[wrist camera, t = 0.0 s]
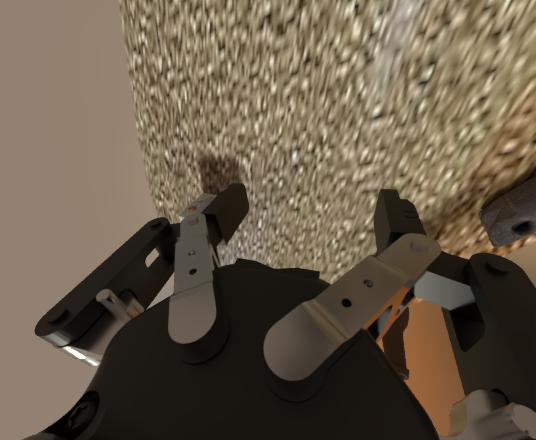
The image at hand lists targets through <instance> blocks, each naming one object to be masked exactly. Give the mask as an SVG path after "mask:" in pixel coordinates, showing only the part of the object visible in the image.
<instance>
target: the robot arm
mask: <svg viewBox="0 0 536 440" xmlns="http://www.w3.org/2000/svg"><path fill="white" fill-rule="evenodd" d="M248 210H249V202H248V198H247V193H246V188H245V185H244V184H241V183H232V184H231V185H230V186H229V187H228V188H227V189H226V190H224V191H223V192H221V193H219V194H218V195H217V196H216V197H215V198H214V199H213V200H212V201H211V203H209V205H208V206H207V207H206V208H205V209H204V210H203V211H202V212H201V213H194V214H191V215H188V216H186V217H185V218H184V219H183V220H182V221H181V223H177V224H170V222H169V220H168V219H167V218H165V217H160V218H156V219H153V220H151V221H149V222H148V223H147V224H145V225H144V226H143V227H142V228H141V229H140V230H139V231H138V232H136V233H135V234H134V235H133V236H132V237H131V238H130V239H129V240H128V241H126V242H125V243H124V244H123V245H122V246H121V247H120V248H119V249H117V250H116V251H115V252H114V253H113V254H112V255H111V256H110V257H109V258H108V259H106V260H105V261H104V262H103V263H102V264H101V265H100V266H99V267H97V268H96V269H95V270H94V271H93V272H92V273H91V274H90V275H89V276H87V277H86V278H85V279H84V280H83V281H82V282H81V283H79V284H78V285H77V286H76V287H75V288H74V289H73V290H72V291H71V292H69V293H68V294H67V295H66V296H65V297H64V298H63V299H62V300H61V301H59V302H58V303H57V304H56V305H55V306H54V307H53V308H52V309H50V310H49V311H48V312H47V313H46V314H45V315H44V316H43V317H42V318H41V319H40V320H39V322H38V323H37V325H36V328H35V334H36V335H37V336H39V337H40V338H42V339H44V340H46V341H47V342H49V343H51V344H52V345H53V346H54V347H55V348H57V349H59V350H60V351H62V352H64V353H65V354H67V355H69V356H71V357H73V358H75V359H79V360H81V361H82V362H84V363H86V364H88V365H90V366H96V365H99V364H100V365H99V367H98V370H97V372H96V374H95V376H94V377H93V379H92V381H91V383H90V384H89V386H88V388H87V389H86V391H85V393H84V394H83V396H82V397H81V398H80V399H79V401H78V402H77V403H76V404H75V406H74V407H73V408H72V409H71V410H70V411H69V412H68V413H66V414H65V415H64V416H63V417H62V418H60V419H59V420H58V421H56V422H55V423H54V424H52V425H51V426H49V427H48V428H46V429H45V430H43V431H41V432H39V433H38V434H36V435H32V436H30V437H27V438H25V439H23V440H536V288H535V286H534V285H533V283H532V282H531V281H530V279H529V278H528V276H527V275H526V273H525V272H524V271H523V270H522V268H520V267H519V266H518V265H517V264H515V263H514V262H512V261H510V260H508V259H506V258H504V257H501V256H498V255H495V254H490V253H476V254H474V255H472V256H471V257H470V259H469V260H468V259H465V258H461V257H458V256H455V255H451V254H448V253H446V252H443V251H442V250H441V246H440V245H439V244H438V243H437V242H436V241H435V240H434V239H432V238H430V237H428V236H427V235H426V233H425V230H424V228H423V225H422V223H421V220H420V219H419V215H418V213H417V210H416V208H415V206H414V205H413V204H412V203H411V202H410V201H409V200H407V199H400V197H399V194H398V191H397V190H395V189H381V190H380V192H379V196H378V200H377V205H376V209H375V214H374V230H375V238H376V246H377V254H378V256H377V257H375V256H373V255H369V256H367V257H366V258H364V259H363V260H362V261H361V262H359V263H358V264H357V265H356V266H354V267H353V268H352V269H351V270H349V271H348V272H347V273H346V274H344V275H343V276H342V277H341V278H339V279H338V280H337V281H336V282H334V283H333V284H332V285H331V284H329V283H328V282H326V281H324V280H322V279H319V274H320V272H319V271H313V270H307V269H301V268H283V269H274V268H271V267H269V266H266V265H264V264H262V263H259V262H257V261H253V260H247V259H240V258H237V260H236V262H235V264H230V265H225V266H221V262H220V257H219V252H218V249H217V246H218V244H219V245H227V243H228V242H229V240H230V239H231V237H232V236H233V234H234V233H235V231H236V230H237V228H238V227H239V225H240V224H241V222H242V220H243V219H244V217H245V216H246V214H247V213H248ZM154 248H156V250H157V251H158V253H159V256H158V257H157V258H156V259H155V260H154V262H153V263H152V264H151V265H150V266H149V267H147V266H146V264H145V260H146V257H147V256H148V255H149V254H150V253H151V252H152V250H153V249H154ZM173 273H174V293H173V295H171V296H169V297H167V298H166V299H164V300H162V301H161V302H159V303H157V304H156V305H154V306H152V307H151V308H149V309H147V308H148V306H149V305H150V304H151V302H152V301H153V300H154V298H155V297H156V296H157V294H158V293H159V292H160V290H161V289H162V288H163V286H164V285H165V284H166V282H167V281H168V280H169V278H170V277H171V275H172V274H173ZM416 297H420V298H422V299H424V300H427V301H429V302H431V303H434V304H436V305H439V306H441V308H442V312H443V315H444V319H445V323H446V327H447V330H448V334H449V338H450V341H451V345H452V349H453V353H454V356H455V360H456V364H457V367H458V371H459V375H460V379H461V382H462V386H463V389H464V393H465V397H464V398H462V399H461V400H459V401H457V402H456V403H454V404H453V406H452V407H451V409H450V414H449V418H450V430H449V433H448V436H441V435H438V433H437V431H436V429H435V427H434V425H433V423H432V421H431V419H430V418H429V416H428V414H427V413H426V411H425V410H424V408H423V407H422V405H421V404H420V403H419V401H418V400H417V399H416V397H415V396H414V394H413V393H412V391H411V390H410V389H409V387H408V386H407V384H406V383H405V382H404V380H403V379H402V377H401V376H400V375H399V373H398V372H397V370H396V369H395V368H394V366H393V365H392V363H391V362H390V361H389V359H388V358H387V356H386V355H385V354H384V352H383V351H382V349H381V348H380V347H379V345H378V344H377V343H378V342H379V340H380V339H381V338H382V337H383V336H384V335H385V333H386V332H387V331H388V329H389V328H390V326H391V325H392V323H393V322H394V321H395V320H396V319H397V318H398V317H399V315H400V314H401V313H402V312H403V311H404V310H405V309H406V308H407V307H408V306H409V305H410V303H411V302H412V301H413V300H414V299H415V298H416ZM146 309H147V310H146Z"/></svg>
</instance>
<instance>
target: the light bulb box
mask: <svg viewBox="0 0 536 440" xmlns="http://www.w3.org/2000/svg"><path fill="white" fill-rule="evenodd" d="M216 196H217V195H214V194H209V193H203V194H202V195H200V196H199V197H198V198H197V199H196V200H195V201H194V202H193V203H192V204H191V205H190V206H189V207H188V208H186V209H185V210H184V211H183V212H182V213H181V214H180V215H179V218H180V221H182V220H183V219H184V218H185V217H186V216H188V215H191V214H194V213H201V212H202V211H203V210H204V209H205V208H206V207H207V206H208V205H209V203H211V201H212V200H213V199H214V198H215V197H216Z"/></svg>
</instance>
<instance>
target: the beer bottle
mask: <svg viewBox="0 0 536 440" xmlns="http://www.w3.org/2000/svg"><path fill="white" fill-rule="evenodd" d="M408 320H409V308H408V307H407V308H406V309H405V310H404V311H403V312H402V313H401V314H400V315H399V317H398V318H397V319H396V320H395V321H394V322H393V323H392V325H391V326H390V328H389V329H388V331H387V332H386V333H385V335H384V336H383V337H382V342H383V347H384V354H385V355H386V356H387V358H388V359H389V361H390V362H391V363H392V365H393V366H394V368H395V369H396V370H397V372H398V373H399V375H400V376H401V377H402V379H403V380H407V379H409V370H408V369H407V368H406V359H405V350H404V341H403V332H404V330H405V329H406V327H407V325H408Z"/></svg>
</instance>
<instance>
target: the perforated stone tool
mask: <svg viewBox="0 0 536 440" xmlns="http://www.w3.org/2000/svg"><path fill="white" fill-rule="evenodd" d="M479 216H480V221H481V224H482V225H483V226H484V229H485V230H486V232H487V234H488V236H489V240H490V242H491V243H492V245H493V247H495V248H496V247H502V246H504V245H507V244H509V243H512V242H514V241H517V240H519V239H521V238H523V237H525V236H528V235H530V234H532V233H534V232H536V176H535V177H533V178H531V179H530V180H528V181H526V182H525V183H523V184H521V185H519V186H517V187H516V188H514V189H513V190H511V191H509V192H507V193H506V194H504V195H502V196H501V197H499V198H498V199H496V200H495V201H493V202H491V204H490V205H489V206H487V207H486V208H484V209H483V210H482V211H480V212H479Z"/></svg>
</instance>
